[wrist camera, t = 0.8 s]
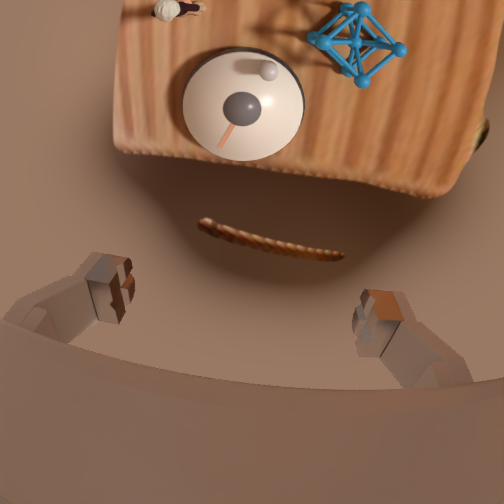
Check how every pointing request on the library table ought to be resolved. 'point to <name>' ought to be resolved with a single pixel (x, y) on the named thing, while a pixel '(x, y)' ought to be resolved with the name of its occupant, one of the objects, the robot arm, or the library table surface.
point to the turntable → (242, 106)
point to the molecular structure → (356, 42)
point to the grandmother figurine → (177, 9)
